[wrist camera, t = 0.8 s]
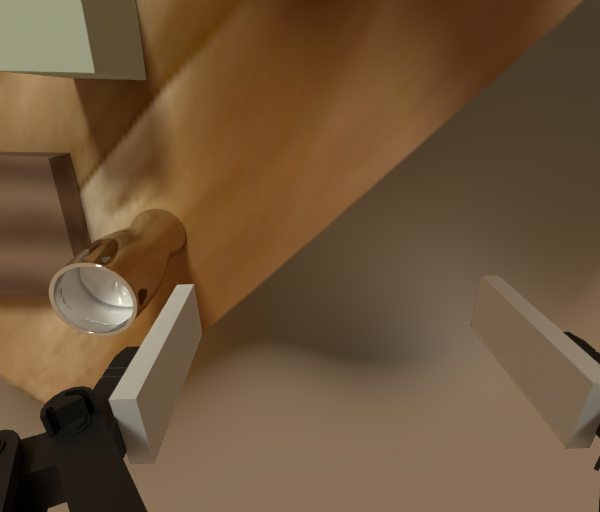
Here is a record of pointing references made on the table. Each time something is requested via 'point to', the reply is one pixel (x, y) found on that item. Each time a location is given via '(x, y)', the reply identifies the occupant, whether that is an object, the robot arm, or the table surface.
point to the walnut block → (38, 220)
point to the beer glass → (117, 275)
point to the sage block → (71, 39)
